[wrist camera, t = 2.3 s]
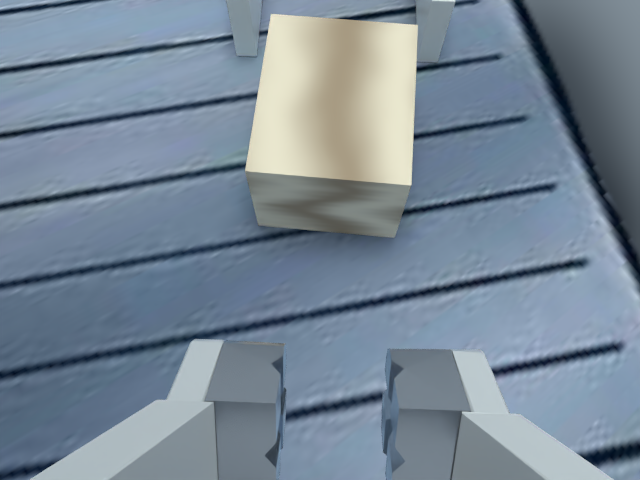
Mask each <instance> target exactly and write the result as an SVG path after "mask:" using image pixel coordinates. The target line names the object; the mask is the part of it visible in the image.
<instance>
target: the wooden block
mask: <svg viewBox="0 0 640 480" xmlns="http://www.w3.org/2000/svg"><path fill="white" fill-rule="evenodd" d="M417 36H418V25H409V24H396V23H383V22H370V21H357V20H344V19H331V18H318V17H305V16H291V15H278V14H271V18H270V24H269V30H268V36H267V42H266V48H265V54H264V60H263V66H262V72H261V78H260V84H259V90H258V96H257V102H256V109H255V115H254V121H253V127H252V133H251V139H250V145H249V151H248V157H247V163H246V169H245V173H246V177H247V181H248V185H249V189H250V193H251V197H252V201H253V206H254V210H255V214H256V218H257V222H258V226H269V227H280V228H292V229H303V230H314V231H325V232H336V233H347V234H358V235H369V236H380V237H392V238H395V235H396V232H397V229H398V226H399V223H400V220H401V216H402V213H403V210H404V207H405V204H406V201H407V197H408V194H409V191H410V188H411V180H412V156H413V132H414V108H415V84H416V60H417Z"/></svg>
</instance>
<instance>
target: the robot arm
mask: <svg viewBox="0 0 640 480" xmlns="http://www.w3.org/2000/svg"><path fill="white" fill-rule="evenodd" d="M285 374H286V344H281V343H264V342H247V341H230V340H226V341H224V340H212V339H195V340H193V341H192V342H191V343H190V345H189V347H188V349H187V352H186V354H185V356H184V359H183V361H182V364H181V366H180V368H179V371H178V373H177V375H176V378H175V380H174V382H173V385H172V387H171V389H170V392H169V394H168V396H167V399H166V400H156V401H154V402H152V403H151V404H149V405H148V406H146V407H144V408H143V409H141V410H140V411H138V412H136V413H135V414H133V415H132V416H130V417H129V418H127V419H125V420H124V421H122V422H121V423H119V424H117V425H116V426H114V427H113V428H111V429H109V430H108V431H106V432H105V433H103V434H101V435H100V436H98V437H97V438H95V439H93V440H92V441H90V442H89V443H87V444H85V445H84V446H82V447H81V448H79V449H77V450H76V451H74V452H73V453H71V454H70V455H68V456H66V457H65V458H63V459H62V460H60V461H58V462H57V463H55V464H54V465H52V466H50V467H49V468H47V469H46V470H44V471H42V472H41V473H39V474H38V475H36V476H34V477H33V478H31V479H30V480H279V475H280V450H281V449H282V448H283V441H284V430H285V417H286V389H285V387H284V382H285ZM385 376H386V384H387V390H386V391H385V392H384V393H383V400H382V423H381V430H382V445H383V452H384V453H385V454H386V455H387V460H386V472H385V475H386V480H614V479H612V478H611V477H609V476H608V475H606V474H605V473H603V472H602V471H601V470H599V469H598V468H596V467H595V466H593V465H592V464H591V463H589V462H588V461H586V460H585V459H583V458H582V457H580V456H579V455H578V454H576V453H575V452H573V451H572V450H570V449H569V448H568V447H566V446H565V445H563V444H562V443H560V442H559V441H557V440H556V439H555V438H553V437H552V436H550V435H549V434H547V433H546V432H545V431H543V430H542V429H540V428H539V427H537V426H536V425H534V424H533V423H532V422H530V421H529V420H527V419H526V418H524V417H523V416H522V415H520V414H510V412H509V410H508V408H507V405H506V403H505V401H504V398H503V396H502V394H501V391H500V389H499V387H498V384H497V382H496V379H495V377H494V375H493V372H492V370H491V368H490V365H489V363H488V361H487V358H486V356H485V354H484V352H483V351H481V350H480V349H449V350H446V349H388V350H387V355H386V364H385Z"/></svg>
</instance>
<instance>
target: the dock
mask: <svg viewBox="0 0 640 480" xmlns="http://www.w3.org/2000/svg"><path fill="white" fill-rule="evenodd" d="M226 3H227V8H228V13H229V18H230V23H231V28H232V33H233V39H234V44H235V49H236V54H237V56H257V50H258V40H259V30H260V20H261V10H262V0H226ZM454 4H455V0H416V25H418V36H417V62H437V63H438V59H439V56H440V53H441V49H442V46H443V42H444V39H445V35H446V32H447V28H448V25H449V21H450V18H451V14H452V11H453V7H454Z"/></svg>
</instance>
